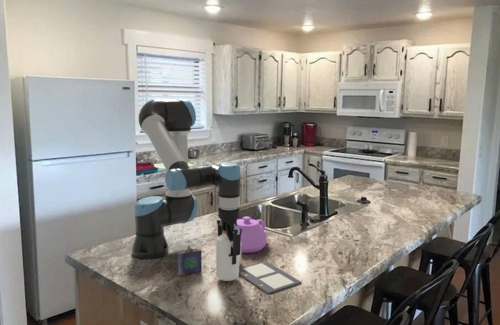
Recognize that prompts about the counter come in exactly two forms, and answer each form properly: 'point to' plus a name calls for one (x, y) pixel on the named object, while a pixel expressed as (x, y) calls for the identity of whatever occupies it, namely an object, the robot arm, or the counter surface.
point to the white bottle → (225, 259)
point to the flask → (189, 262)
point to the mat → (267, 277)
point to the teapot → (252, 235)
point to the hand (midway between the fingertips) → (228, 269)
